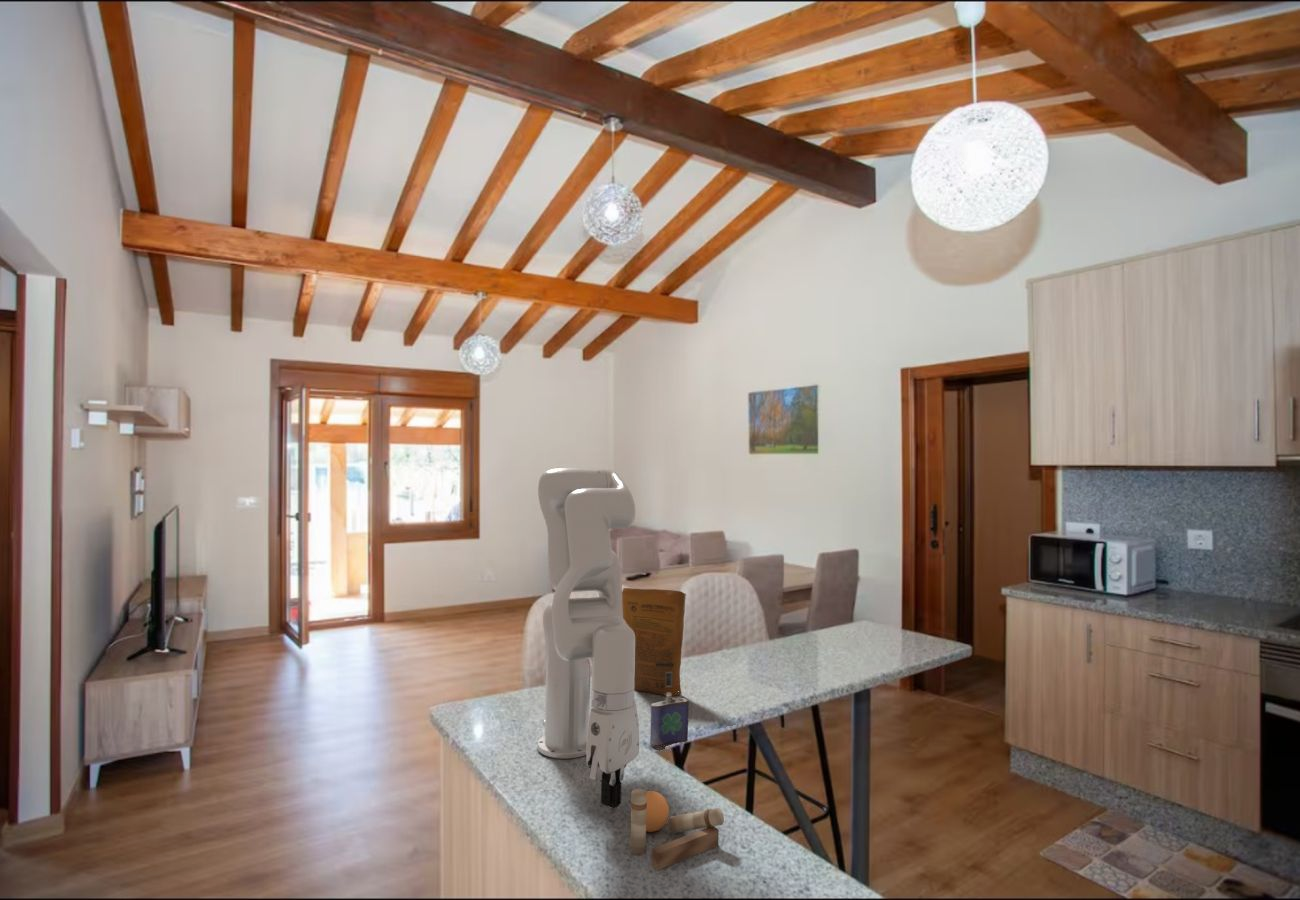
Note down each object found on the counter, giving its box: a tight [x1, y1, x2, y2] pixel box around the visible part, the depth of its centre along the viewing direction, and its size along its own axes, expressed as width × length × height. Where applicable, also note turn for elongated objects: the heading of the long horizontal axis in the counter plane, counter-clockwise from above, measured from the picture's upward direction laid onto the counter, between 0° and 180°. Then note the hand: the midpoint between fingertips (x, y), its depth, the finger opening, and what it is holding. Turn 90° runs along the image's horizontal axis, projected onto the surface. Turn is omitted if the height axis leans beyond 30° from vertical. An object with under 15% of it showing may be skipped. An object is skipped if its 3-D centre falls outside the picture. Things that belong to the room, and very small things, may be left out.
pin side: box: [629, 788, 647, 856], centre depth 105 cm, size 2×2×9 cm
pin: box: [669, 807, 725, 834], centre depth 109 cm, size 2×2×9 cm
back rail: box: [651, 826, 720, 871], centre depth 104 cm, size 12×2×2 cm, turn 125°
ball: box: [645, 790, 670, 833], centre depth 111 cm, size 6×6×6 cm
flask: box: [649, 692, 690, 748], centre depth 147 cm, size 9×3×11 cm, turn 117°
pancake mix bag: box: [622, 587, 687, 697], centre depth 182 cm, size 7×19×28 cm, turn 63°
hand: (610, 804), depth 116 cm, fingers closed
